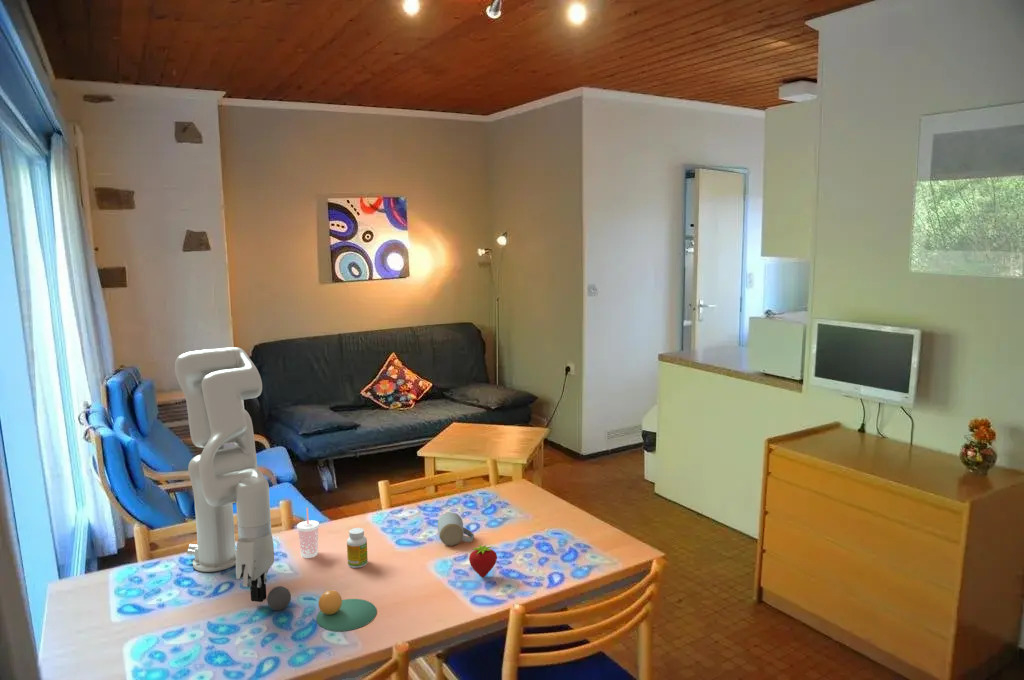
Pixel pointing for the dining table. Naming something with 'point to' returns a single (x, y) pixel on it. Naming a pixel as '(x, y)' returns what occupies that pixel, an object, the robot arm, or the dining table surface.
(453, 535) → the ceramic mug
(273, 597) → the charcoal cue ball
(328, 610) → the orange ball
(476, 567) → the strawberry
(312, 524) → the beverage cup
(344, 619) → the green ellipsoid
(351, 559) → the supplement bottle
